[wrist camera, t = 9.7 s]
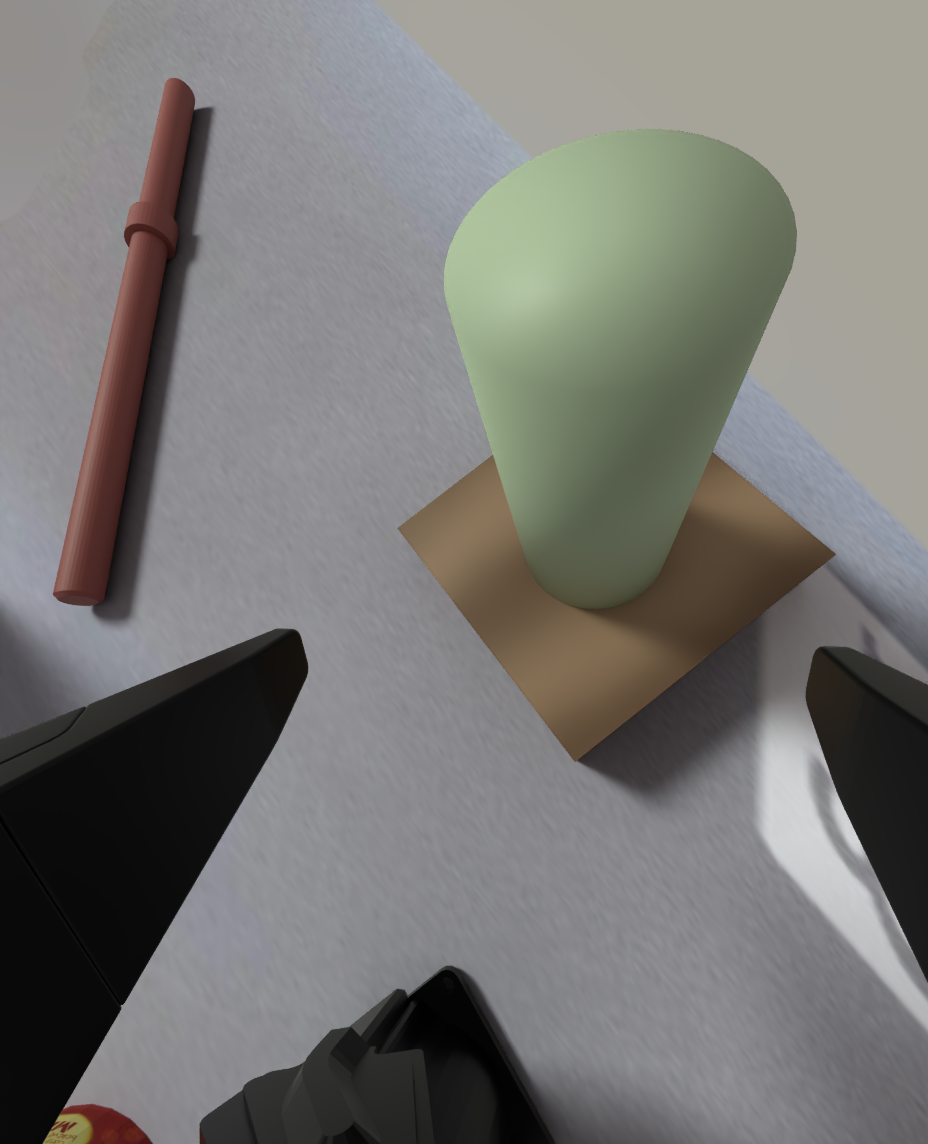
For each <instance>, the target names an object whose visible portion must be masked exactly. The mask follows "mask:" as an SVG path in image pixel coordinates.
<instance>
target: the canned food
mask: <svg viewBox="0 0 928 1144" xmlns="http://www.w3.org/2000/svg"><path fill="white" fill-rule="evenodd" d="M43 1144H153V1143H152V1142H151V1140H150V1139H149V1137H148V1136H147V1135H146V1134H145V1133H144V1132H143V1131H142V1130H141V1129H140V1128H139V1127H138V1126H137V1125H136V1124H135V1123H134V1122H133V1121H132V1120H131V1119H130V1118H128V1117H126V1116H125V1115H123V1114H121V1113H119V1112H117V1111H116V1110H114V1109H112V1108H108V1107H104V1106H99V1105H94V1104H86V1105H75V1106H70V1107H67V1108H65V1109H63V1110H62V1112H61V1113H60V1115H59V1117H58V1119H57V1120H56V1122H55V1124H54V1125H53V1127H52V1129H51V1131H50V1132H49V1134H48V1136H47V1137H46V1139H45V1141H44V1143H43Z"/></svg>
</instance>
